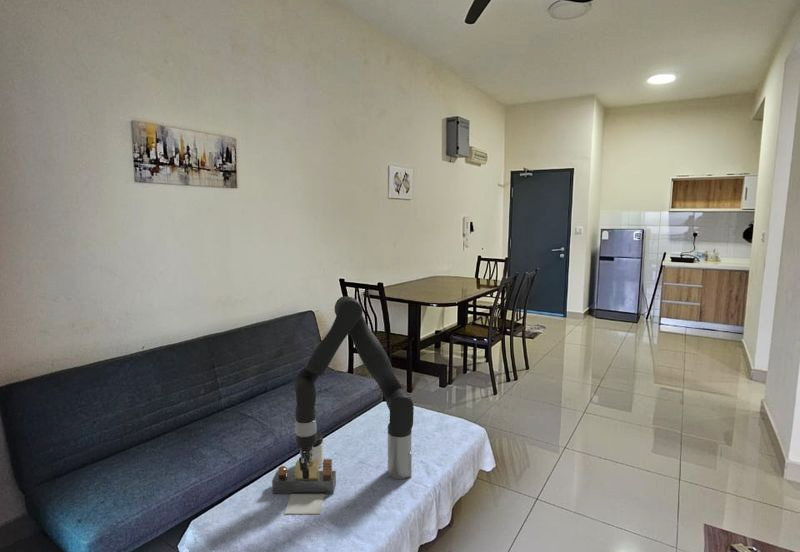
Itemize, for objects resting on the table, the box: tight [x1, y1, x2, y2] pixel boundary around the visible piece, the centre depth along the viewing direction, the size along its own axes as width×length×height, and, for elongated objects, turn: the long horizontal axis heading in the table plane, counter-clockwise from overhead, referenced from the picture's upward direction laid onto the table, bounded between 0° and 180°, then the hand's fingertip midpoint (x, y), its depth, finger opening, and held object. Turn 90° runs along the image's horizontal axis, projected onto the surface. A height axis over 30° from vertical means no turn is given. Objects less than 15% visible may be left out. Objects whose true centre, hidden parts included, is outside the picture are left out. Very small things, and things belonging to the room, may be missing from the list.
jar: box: [312, 431, 324, 468], centre depth 179 cm, size 9×8×12 cm
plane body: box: [271, 458, 337, 495], centre depth 163 cm, size 22×6×11 cm, turn 90°
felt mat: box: [284, 494, 326, 515], centre depth 155 cm, size 12×10×1 cm
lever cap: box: [294, 459, 320, 480], centre depth 163 cm, size 8×4×5 cm, turn 90°
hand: (307, 473), depth 163 cm, fingers closed on lever cap, 4 cm apart
